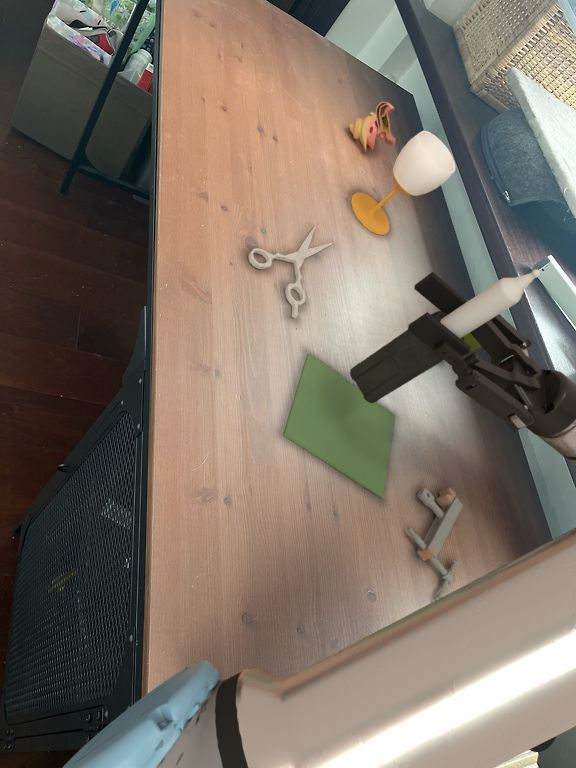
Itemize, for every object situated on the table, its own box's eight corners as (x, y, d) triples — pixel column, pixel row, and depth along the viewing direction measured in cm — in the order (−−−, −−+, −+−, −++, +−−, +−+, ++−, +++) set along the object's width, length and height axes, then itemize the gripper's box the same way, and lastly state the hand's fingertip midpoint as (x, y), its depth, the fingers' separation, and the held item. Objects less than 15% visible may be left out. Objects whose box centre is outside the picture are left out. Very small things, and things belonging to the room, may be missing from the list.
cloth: (380, 498, 79) (383, 497, 79) (283, 435, 74) (285, 434, 74) (393, 415, 88) (395, 414, 88) (307, 354, 83) (309, 352, 83)
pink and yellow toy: (344, 149, 116) (354, 94, 113) (345, 153, 125) (355, 103, 123) (393, 157, 115) (404, 102, 112) (390, 161, 125) (400, 110, 122)
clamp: (438, 470, 85) (482, 526, 86) (426, 476, 87) (470, 530, 87) (395, 541, 74) (447, 604, 75) (383, 545, 76) (433, 607, 76)
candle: (346, 370, 76) (515, 253, 59) (368, 359, 80) (533, 245, 63) (368, 406, 76) (545, 298, 59) (389, 392, 79) (562, 287, 62)
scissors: (242, 258, 82) (304, 205, 97) (239, 261, 83) (301, 208, 97) (296, 316, 84) (350, 255, 98) (293, 319, 84) (346, 258, 99)
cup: (396, 230, 113) (465, 171, 102) (371, 239, 106) (442, 177, 95) (368, 190, 113) (433, 127, 102) (342, 196, 107) (409, 129, 96)
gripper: (533, 488, 70) (384, 378, 63) (529, 369, 83) (405, 266, 75) (593, 465, 65) (440, 343, 58) (580, 342, 78) (452, 229, 70)
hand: (420, 300), depth 67 cm, fingers closed on candle, 6 cm apart
